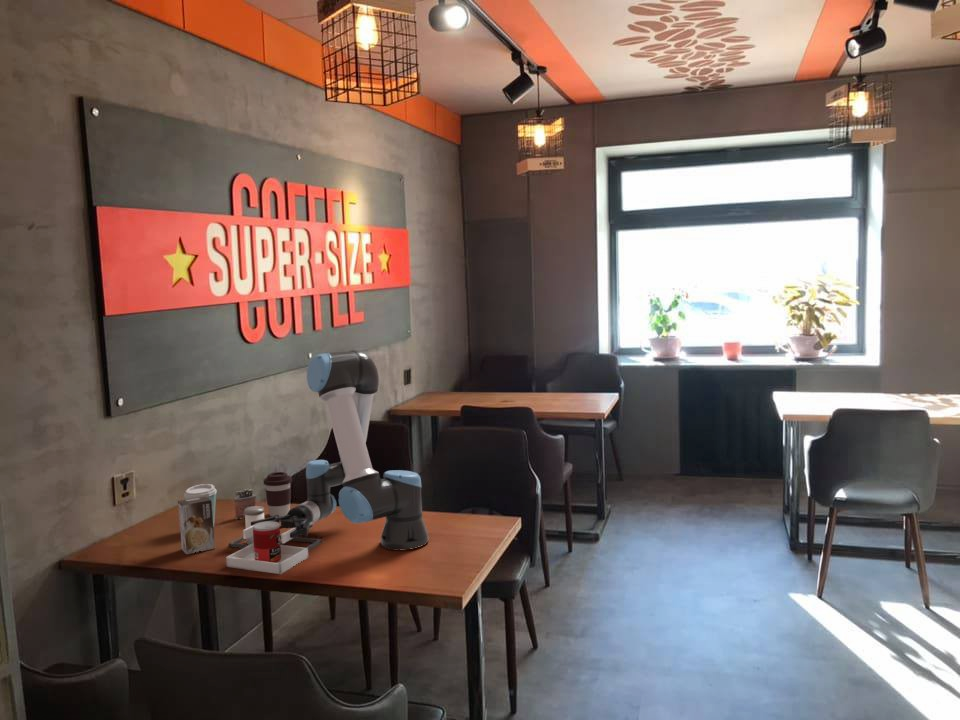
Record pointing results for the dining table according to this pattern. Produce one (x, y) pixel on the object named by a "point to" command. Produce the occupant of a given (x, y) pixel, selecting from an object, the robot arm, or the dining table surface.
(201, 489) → the disposable coffee cup
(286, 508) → the coffee cup
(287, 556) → the tray
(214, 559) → the dining table surface
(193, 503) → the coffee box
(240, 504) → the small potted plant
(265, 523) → the canned food
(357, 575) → the dining table surface
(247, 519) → the salt shaker
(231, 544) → the rectangular frames
